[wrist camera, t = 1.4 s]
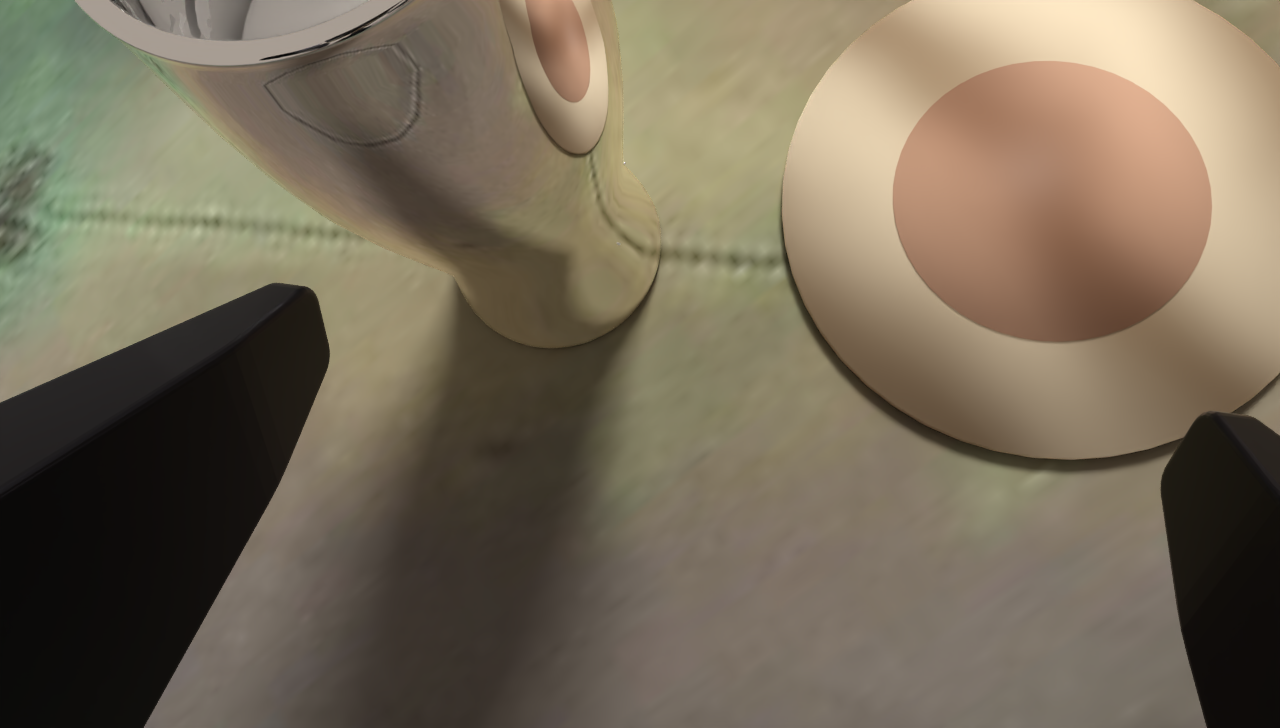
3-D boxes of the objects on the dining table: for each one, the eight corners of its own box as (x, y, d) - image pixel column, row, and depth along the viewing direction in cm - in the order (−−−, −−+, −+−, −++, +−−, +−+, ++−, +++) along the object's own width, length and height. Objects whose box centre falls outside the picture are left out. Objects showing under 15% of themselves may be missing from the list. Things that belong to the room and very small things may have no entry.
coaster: (1082, 578, 21) (1088, 578, 21) (679, 219, 25) (678, 214, 24) (1456, 180, 22) (1466, 174, 22) (1011, -112, 26) (1014, -120, 25)
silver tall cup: (478, 398, 25) (57, 163, 10) (419, 186, 26) (-11, -272, 12) (710, 315, 24) (619, -56, 10) (634, 105, 26) (460, -474, 11)
